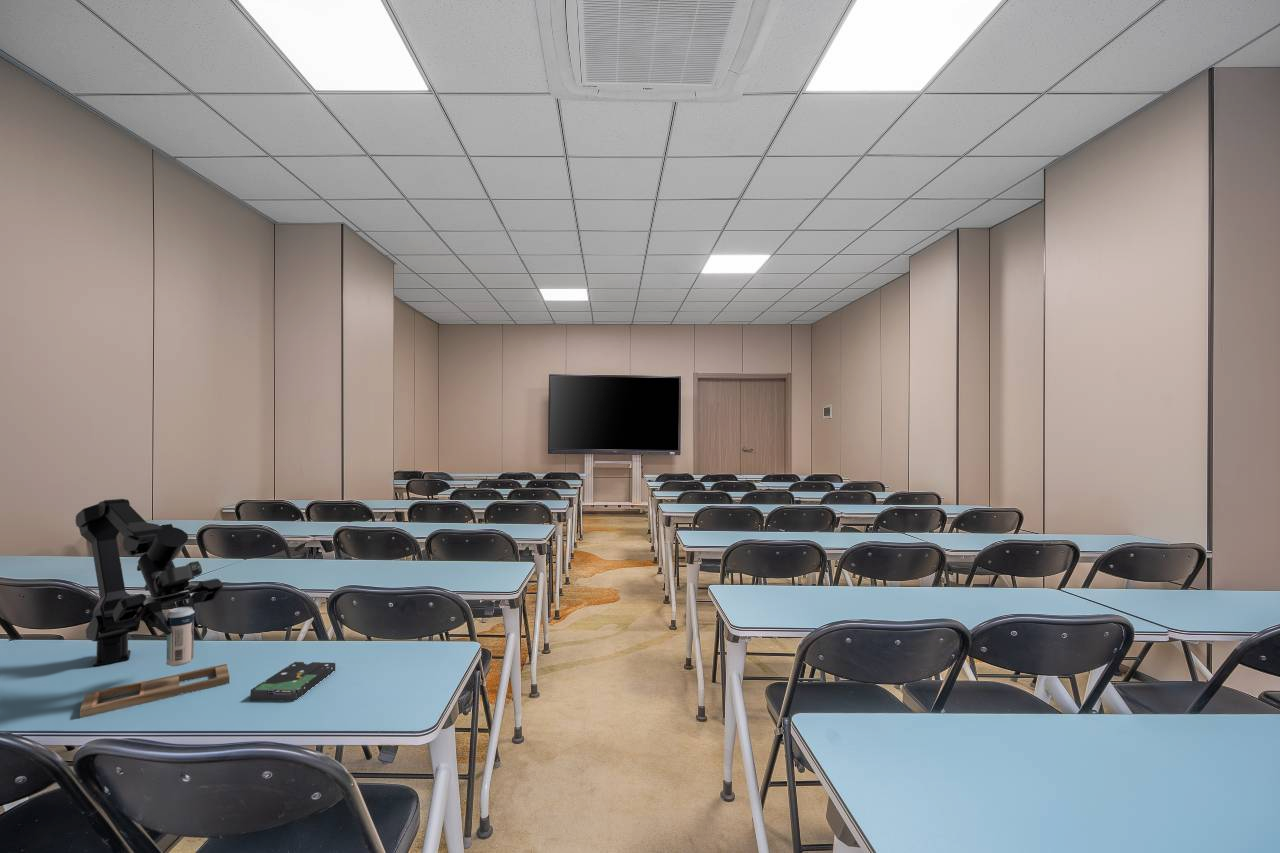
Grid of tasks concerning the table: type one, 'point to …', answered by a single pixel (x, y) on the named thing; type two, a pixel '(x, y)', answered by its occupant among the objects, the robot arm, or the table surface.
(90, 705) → the wooden tray
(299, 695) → the disk drive
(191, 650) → the white cylinder
